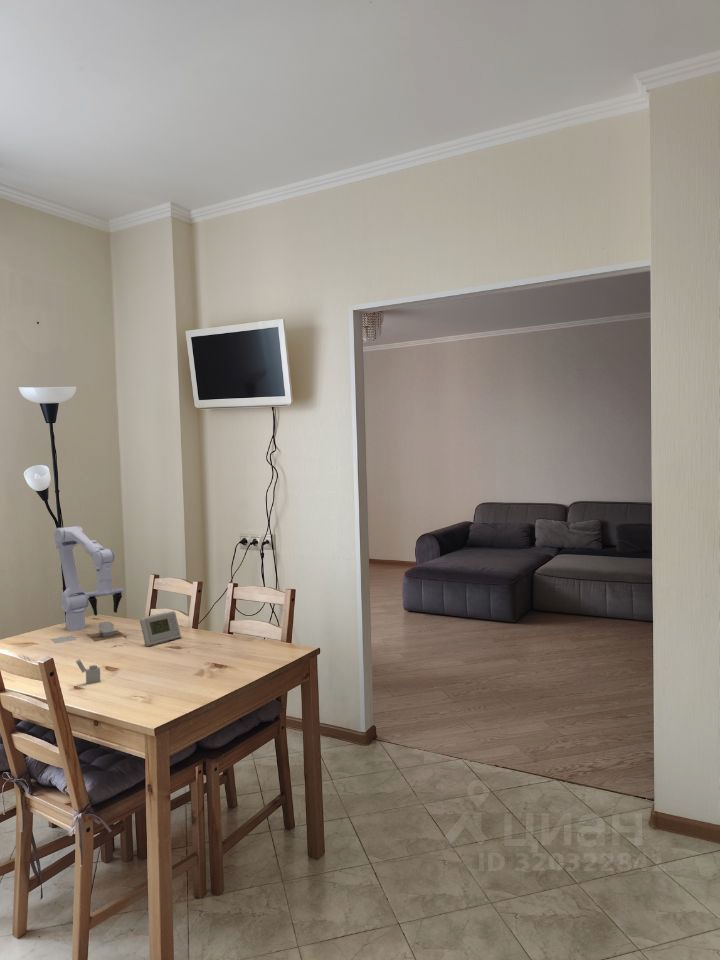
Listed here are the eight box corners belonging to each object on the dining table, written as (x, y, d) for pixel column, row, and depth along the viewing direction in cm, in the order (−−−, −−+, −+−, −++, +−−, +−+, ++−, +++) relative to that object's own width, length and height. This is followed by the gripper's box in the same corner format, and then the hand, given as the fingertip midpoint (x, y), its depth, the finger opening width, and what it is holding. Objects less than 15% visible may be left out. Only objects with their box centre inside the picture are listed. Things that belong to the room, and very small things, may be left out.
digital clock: (145, 647, 262) (144, 620, 261) (136, 643, 269) (135, 616, 268) (185, 639, 272) (184, 613, 272) (175, 635, 279) (174, 609, 279)
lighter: (99, 679, 225) (98, 655, 225) (100, 681, 223) (99, 656, 223) (76, 684, 221) (75, 659, 221) (77, 685, 220) (76, 660, 219)
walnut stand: (87, 638, 276) (86, 635, 276) (117, 633, 283) (117, 630, 283) (94, 645, 267) (94, 641, 267) (126, 639, 274) (125, 636, 273)
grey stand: (50, 642, 272) (50, 639, 271) (72, 639, 276) (72, 635, 276) (54, 647, 265) (54, 643, 265) (76, 643, 270) (76, 639, 269)
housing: (103, 638, 271) (103, 625, 271) (99, 635, 276) (99, 622, 276) (113, 636, 273) (113, 624, 273) (109, 633, 278) (109, 621, 278)
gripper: (87, 583, 267) (89, 618, 267) (125, 579, 275) (126, 612, 275) (83, 580, 272) (84, 614, 273) (120, 576, 281) (121, 609, 281)
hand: (105, 613), depth 275 cm, fingers open, 7 cm apart
